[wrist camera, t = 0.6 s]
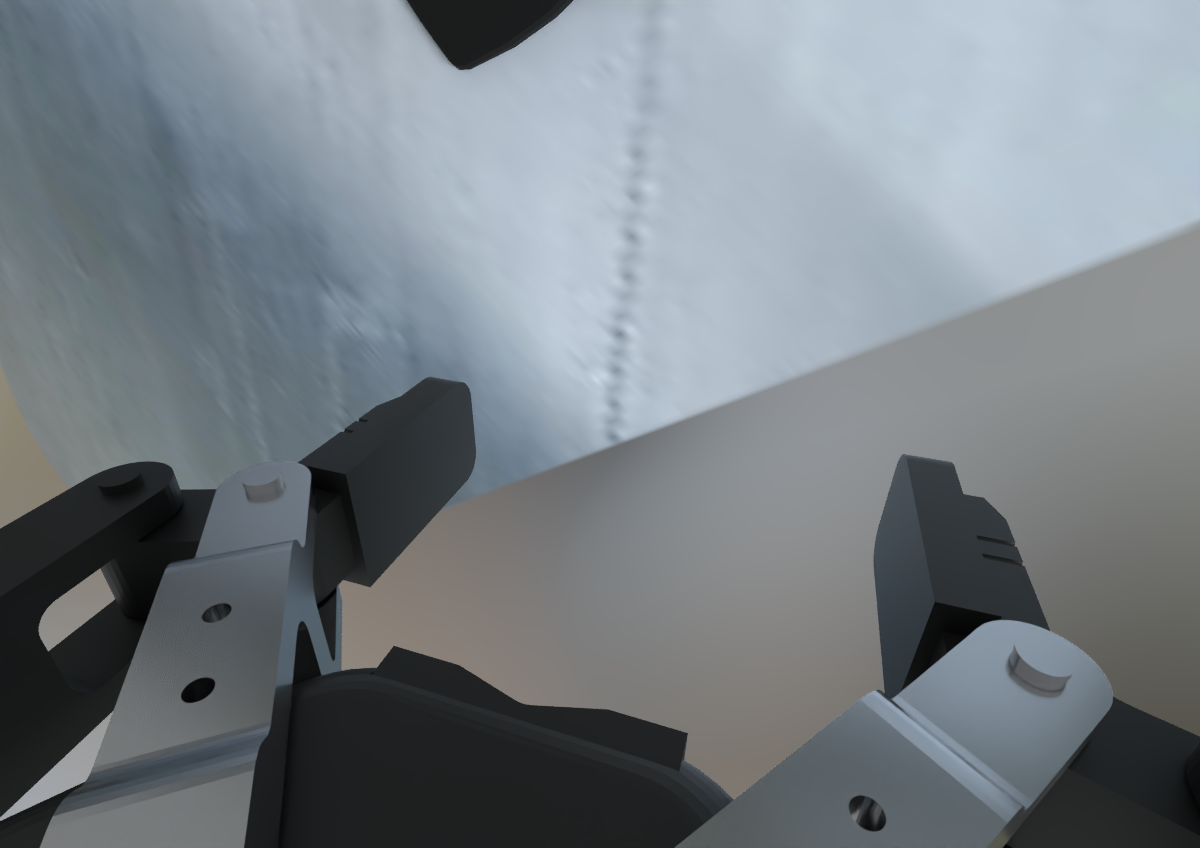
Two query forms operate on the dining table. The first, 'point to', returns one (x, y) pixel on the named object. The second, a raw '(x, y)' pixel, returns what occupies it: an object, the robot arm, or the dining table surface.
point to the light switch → (483, 25)
